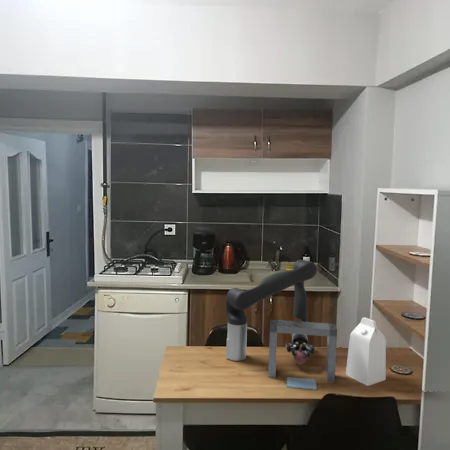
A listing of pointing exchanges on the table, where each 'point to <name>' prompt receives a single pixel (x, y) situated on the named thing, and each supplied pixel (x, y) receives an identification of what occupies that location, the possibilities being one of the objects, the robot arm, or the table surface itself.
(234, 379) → the table surface
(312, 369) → the table surface
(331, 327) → the grey arch
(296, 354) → the vegetable
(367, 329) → the milk
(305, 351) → the robot arm
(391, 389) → the table surface
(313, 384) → the pad
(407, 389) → the table surface
